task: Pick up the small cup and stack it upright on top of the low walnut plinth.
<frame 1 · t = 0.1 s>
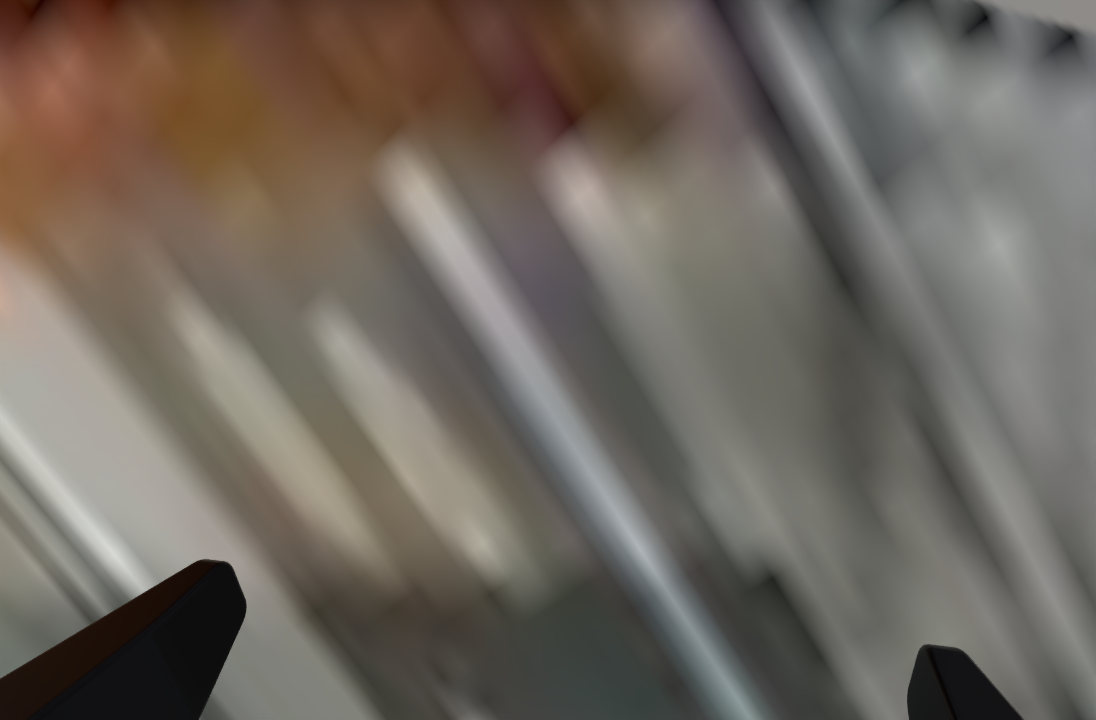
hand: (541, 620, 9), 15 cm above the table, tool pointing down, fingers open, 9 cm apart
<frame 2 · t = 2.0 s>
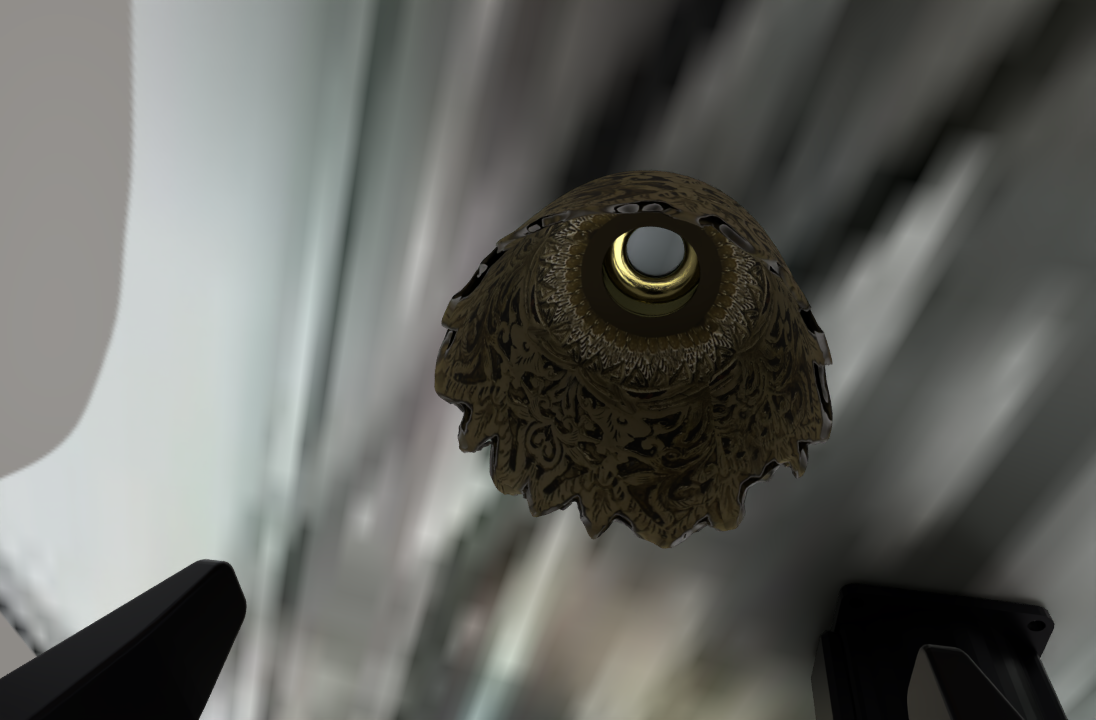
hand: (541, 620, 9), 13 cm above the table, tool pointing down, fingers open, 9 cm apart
cup: (655, 247, 20), on the table
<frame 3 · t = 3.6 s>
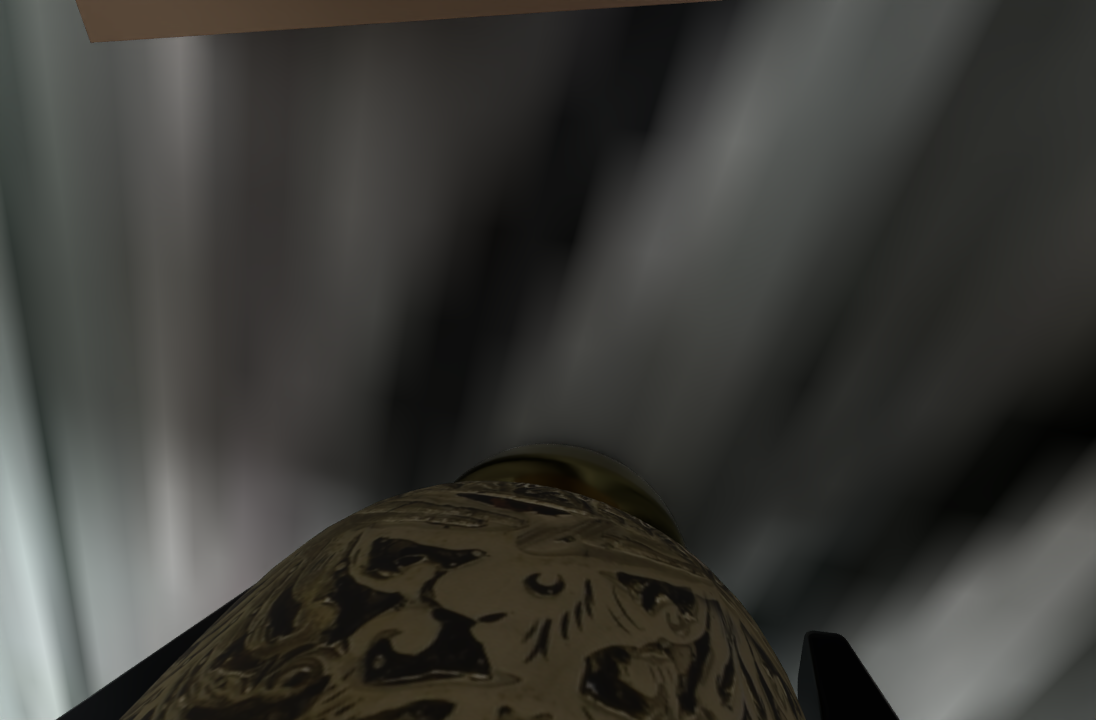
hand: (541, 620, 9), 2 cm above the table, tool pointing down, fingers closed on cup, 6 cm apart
cup: (569, 513, 11), on the table, touching gripper
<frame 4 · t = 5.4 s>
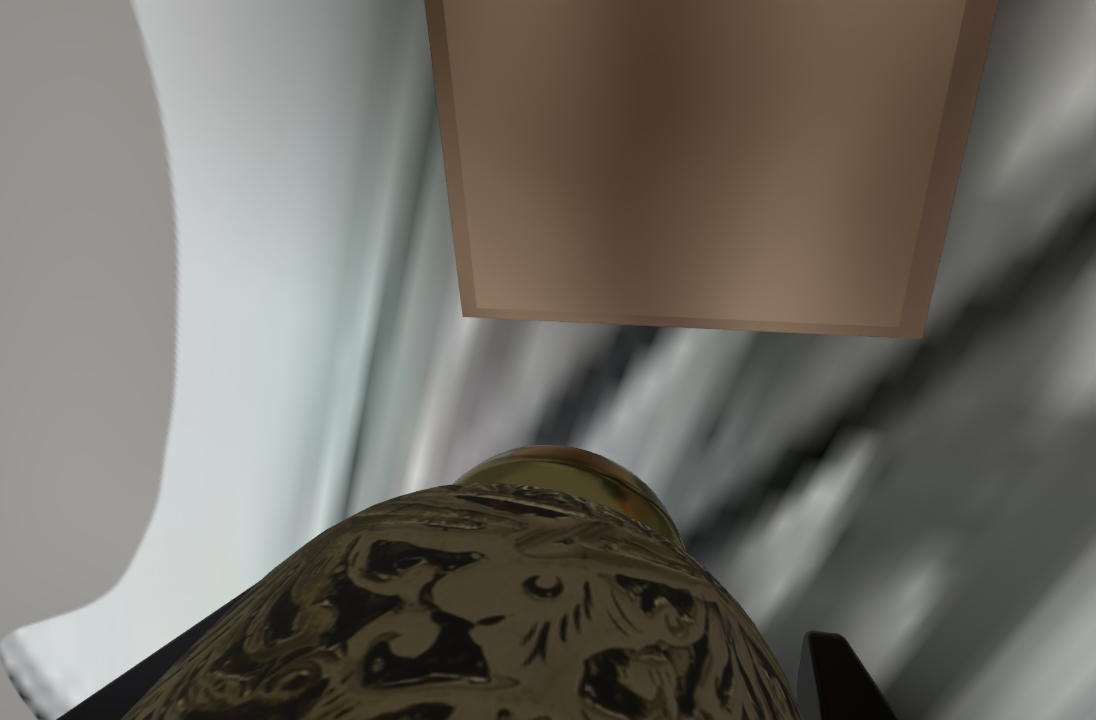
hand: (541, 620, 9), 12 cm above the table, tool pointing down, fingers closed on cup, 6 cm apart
plinth: (689, 78, 17), on the table
cup: (568, 514, 11), point 10 cm above the table, touching gripper
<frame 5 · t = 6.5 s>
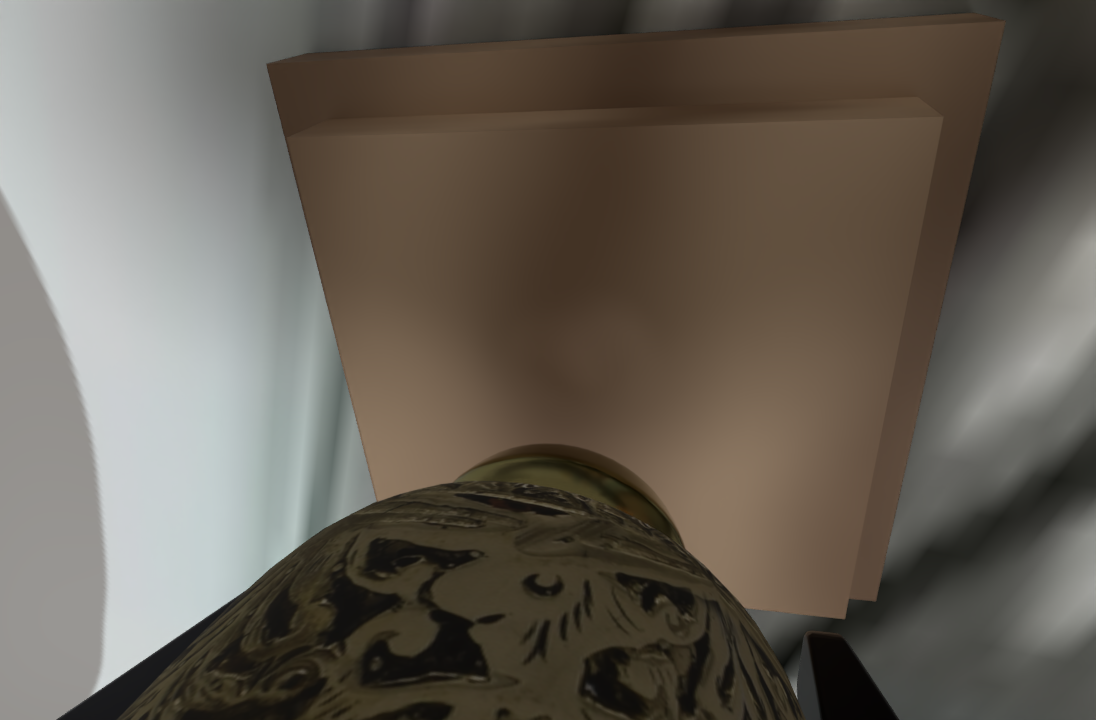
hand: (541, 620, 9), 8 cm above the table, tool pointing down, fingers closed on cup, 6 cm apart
plinth: (615, 330, 16), on the table
cup: (568, 513, 11), point 6 cm above the table, touching gripper
when the fingers open (6 cm above the table, at t = 7.3 s): cup drops 1 cm, resting on plinth.
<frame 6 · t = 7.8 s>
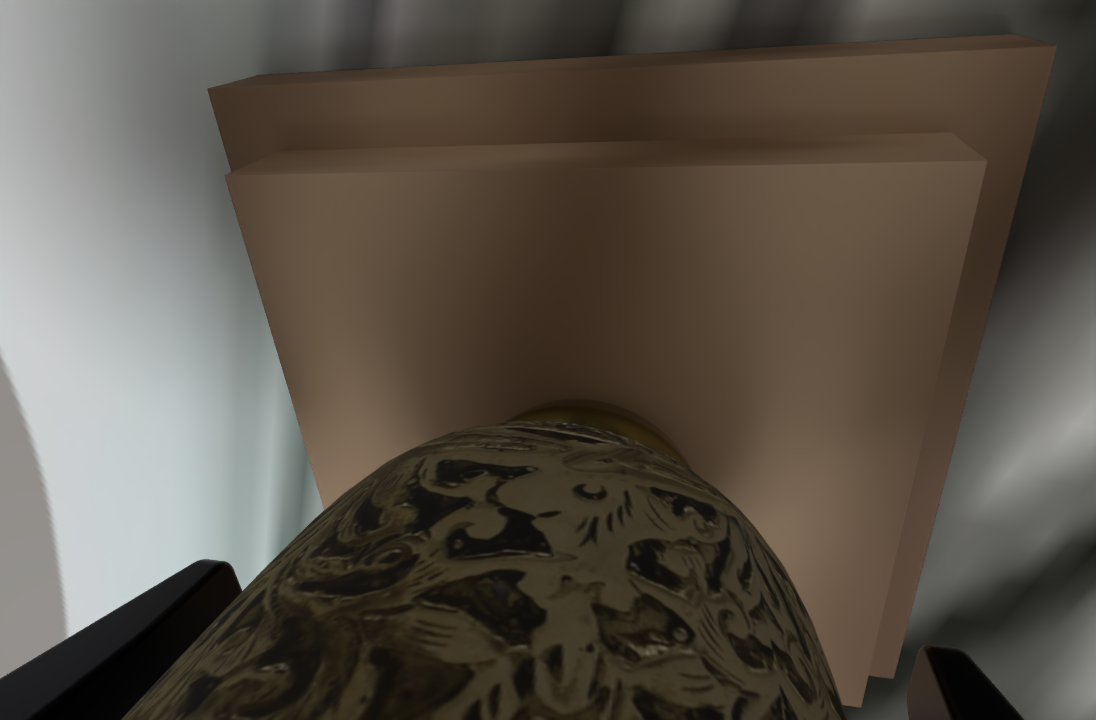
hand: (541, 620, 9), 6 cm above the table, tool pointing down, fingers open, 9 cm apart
plinth: (605, 379, 14), on the table
cup: (592, 466, 12), point 3 cm above the table, touching plinth
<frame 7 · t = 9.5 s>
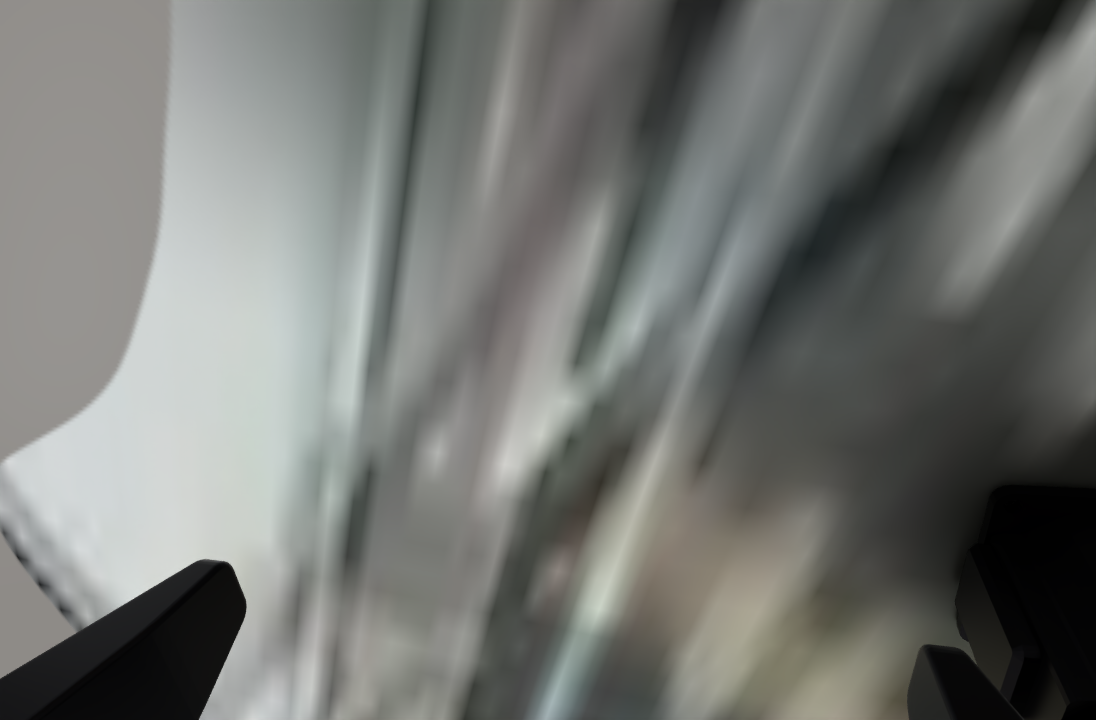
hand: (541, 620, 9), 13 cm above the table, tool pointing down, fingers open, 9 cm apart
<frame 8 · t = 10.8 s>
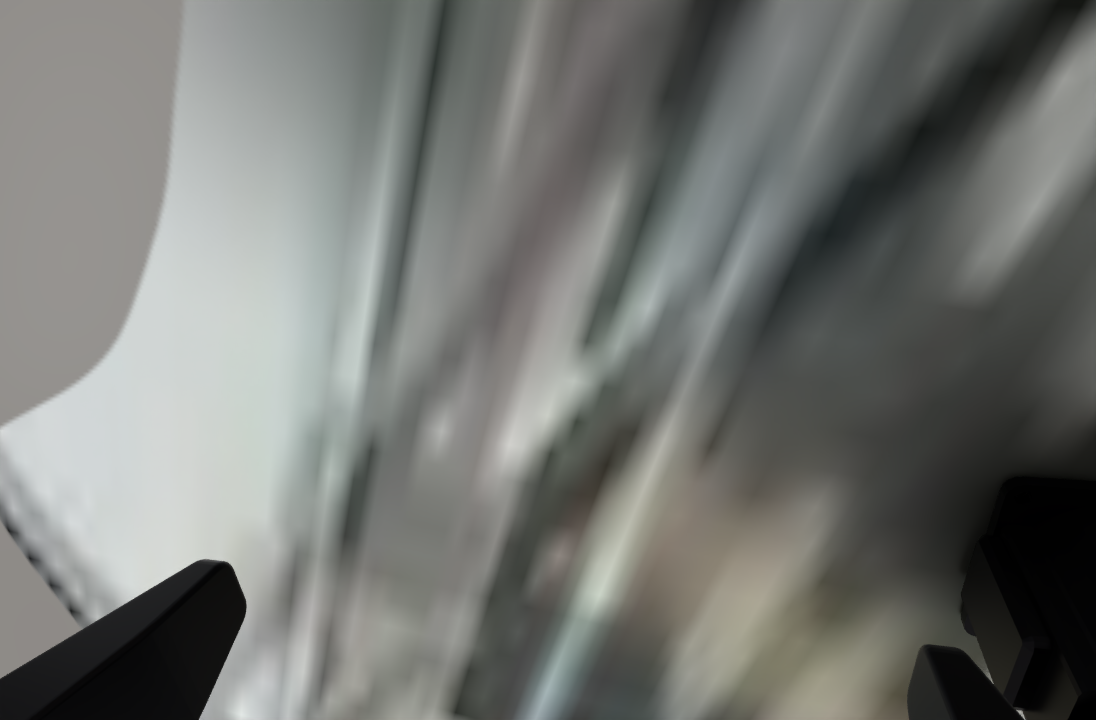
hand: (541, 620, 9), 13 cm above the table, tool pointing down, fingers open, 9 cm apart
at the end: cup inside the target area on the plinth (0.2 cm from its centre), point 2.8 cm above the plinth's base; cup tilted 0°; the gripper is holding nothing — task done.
